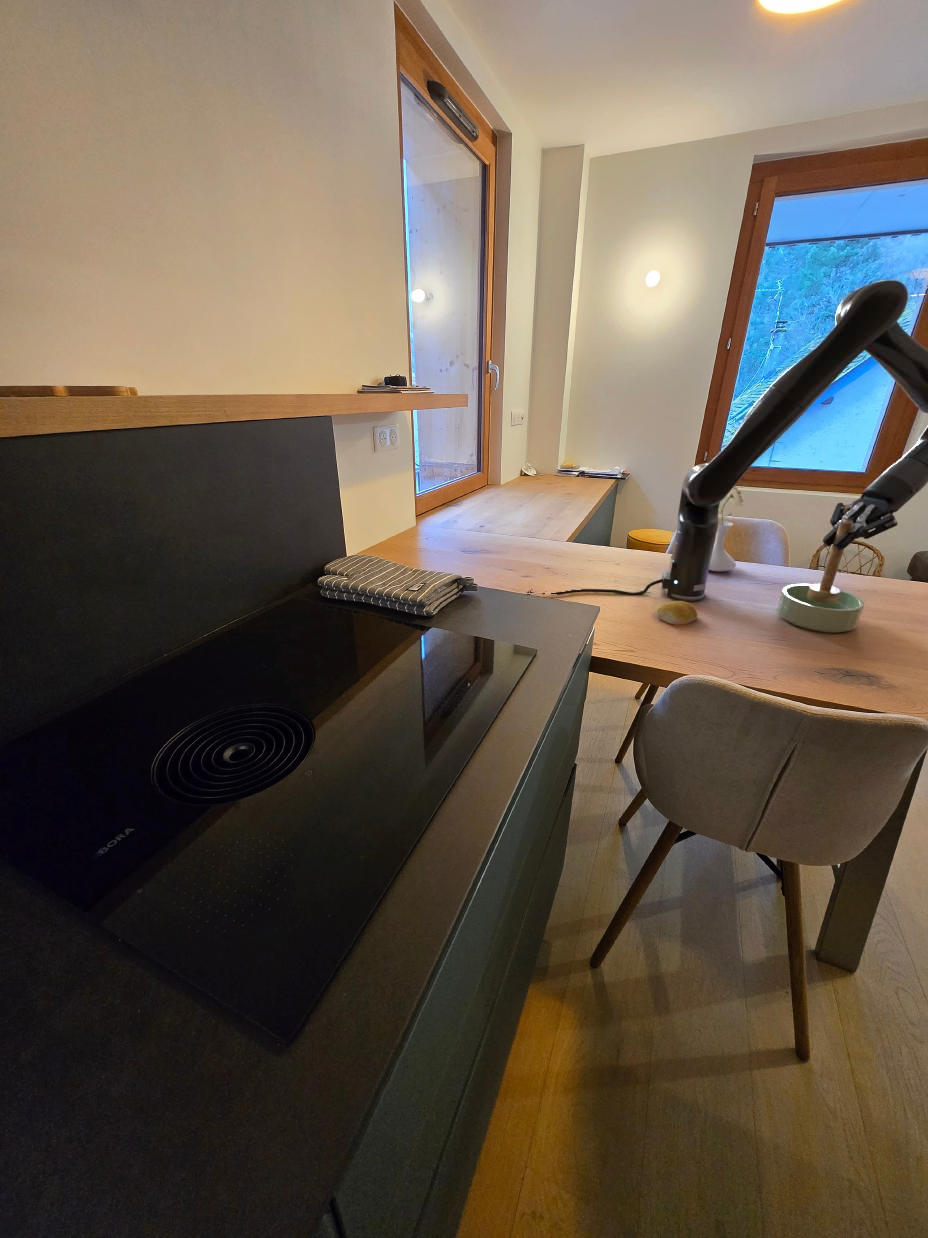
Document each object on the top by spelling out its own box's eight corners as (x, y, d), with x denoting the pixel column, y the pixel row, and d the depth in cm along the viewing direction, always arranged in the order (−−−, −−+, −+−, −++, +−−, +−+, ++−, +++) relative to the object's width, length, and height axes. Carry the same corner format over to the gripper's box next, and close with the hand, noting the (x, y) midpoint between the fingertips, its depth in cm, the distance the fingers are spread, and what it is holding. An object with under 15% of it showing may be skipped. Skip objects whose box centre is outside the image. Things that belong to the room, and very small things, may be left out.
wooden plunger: (810, 602, 112) (834, 524, 104) (803, 592, 117) (825, 517, 109) (841, 605, 110) (868, 526, 102) (832, 595, 115) (857, 519, 108)
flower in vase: (737, 576, 142) (758, 488, 131) (694, 572, 146) (711, 486, 135) (731, 562, 153) (750, 480, 142) (692, 558, 157) (707, 478, 146)
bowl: (785, 630, 112) (792, 605, 109) (769, 603, 125) (775, 581, 122) (866, 639, 107) (876, 614, 105) (841, 610, 120) (849, 587, 118)
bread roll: (702, 619, 117) (705, 603, 116) (679, 628, 113) (682, 612, 111) (672, 607, 124) (675, 592, 122) (649, 616, 119) (651, 600, 118)
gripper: (860, 468, 109) (798, 526, 112) (925, 478, 97) (853, 544, 100) (872, 491, 112) (811, 547, 115) (936, 504, 100) (866, 566, 103)
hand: (831, 545), depth 108 cm, fingers closed on wooden plunger
